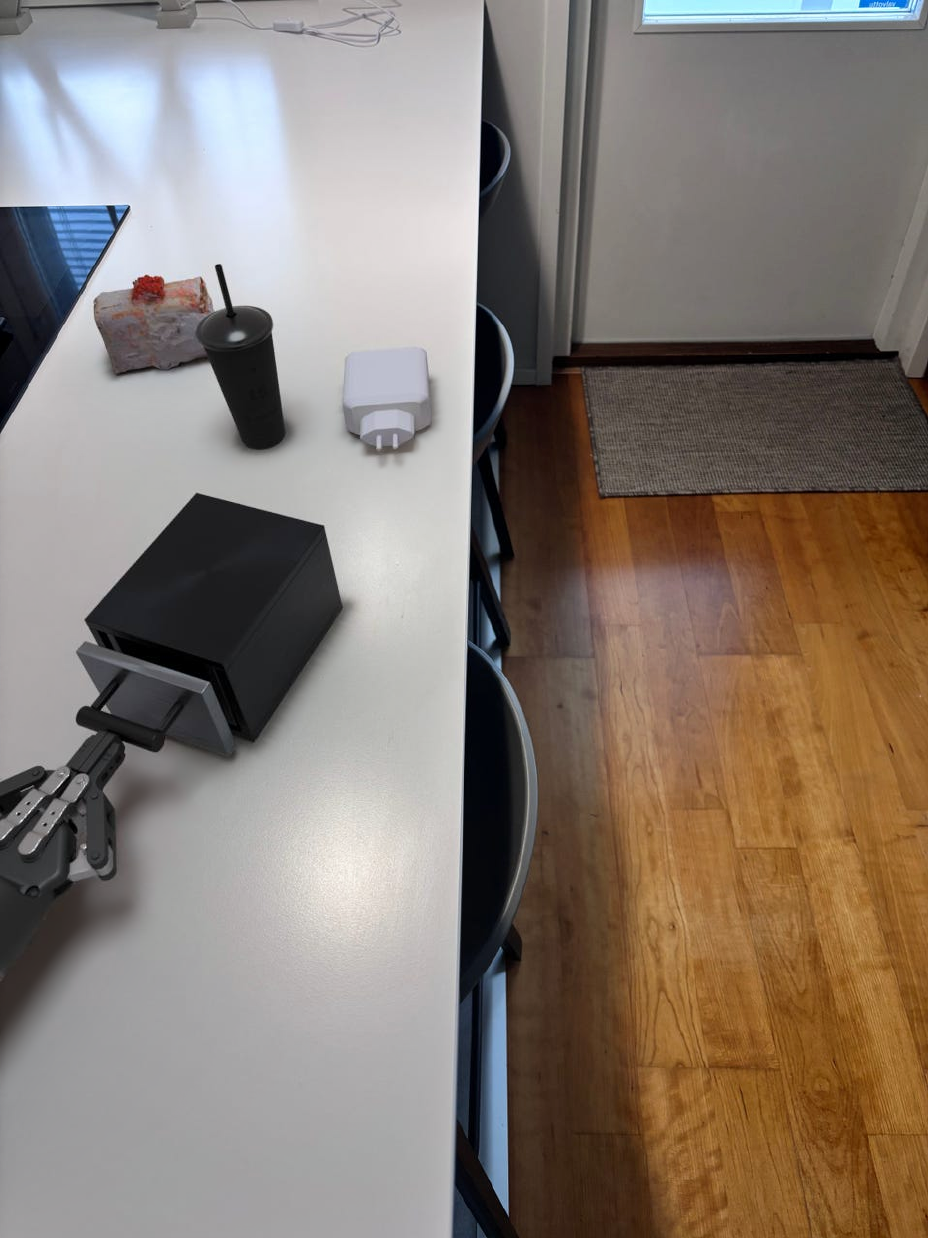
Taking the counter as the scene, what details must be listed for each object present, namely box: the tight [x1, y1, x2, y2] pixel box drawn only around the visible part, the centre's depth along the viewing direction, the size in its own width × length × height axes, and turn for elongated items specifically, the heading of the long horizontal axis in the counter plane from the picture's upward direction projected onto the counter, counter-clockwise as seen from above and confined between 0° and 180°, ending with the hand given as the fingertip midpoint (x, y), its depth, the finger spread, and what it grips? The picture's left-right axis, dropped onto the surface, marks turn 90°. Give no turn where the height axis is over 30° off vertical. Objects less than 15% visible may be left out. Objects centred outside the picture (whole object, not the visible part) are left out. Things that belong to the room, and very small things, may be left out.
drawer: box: [75, 633, 239, 757], centre depth 77 cm, size 19×12×8 cm, turn 157°
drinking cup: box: [196, 263, 286, 450], centre depth 97 cm, size 8×8×20 cm
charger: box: [342, 346, 432, 452], centre depth 103 cm, size 5×9×15 cm
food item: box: [92, 274, 216, 375], centre depth 113 cm, size 14×8×10 cm, turn 104°
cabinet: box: [84, 492, 344, 743], centre depth 80 cm, size 16×13×10 cm
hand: (113, 738), depth 71 cm, fingers closed
